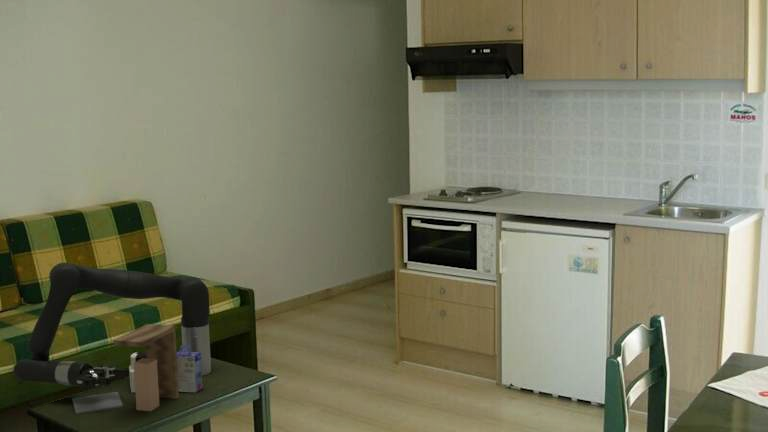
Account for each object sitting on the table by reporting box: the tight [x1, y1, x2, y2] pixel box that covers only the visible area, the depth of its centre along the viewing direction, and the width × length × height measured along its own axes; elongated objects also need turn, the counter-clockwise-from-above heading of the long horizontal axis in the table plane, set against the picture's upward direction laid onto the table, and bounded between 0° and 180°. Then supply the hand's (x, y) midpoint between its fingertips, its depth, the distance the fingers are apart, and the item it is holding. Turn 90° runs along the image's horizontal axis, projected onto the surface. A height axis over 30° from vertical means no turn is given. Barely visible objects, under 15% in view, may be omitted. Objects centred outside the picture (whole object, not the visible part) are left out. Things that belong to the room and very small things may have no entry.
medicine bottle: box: [128, 351, 147, 393], centre depth 303 cm, size 7×7×12 cm
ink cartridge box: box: [176, 345, 203, 393], centre depth 300 cm, size 10×6×14 cm, turn 78°
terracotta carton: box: [134, 358, 160, 412], centre depth 284 cm, size 5×5×15 cm
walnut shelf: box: [112, 323, 180, 400], centre depth 285 cm, size 10×19×24 cm, turn 163°
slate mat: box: [72, 391, 124, 415], centre depth 290 cm, size 14×14×1 cm
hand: (118, 377), depth 287 cm, fingers open, 8 cm apart
